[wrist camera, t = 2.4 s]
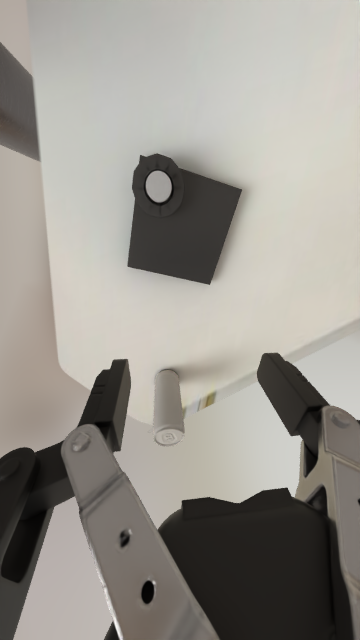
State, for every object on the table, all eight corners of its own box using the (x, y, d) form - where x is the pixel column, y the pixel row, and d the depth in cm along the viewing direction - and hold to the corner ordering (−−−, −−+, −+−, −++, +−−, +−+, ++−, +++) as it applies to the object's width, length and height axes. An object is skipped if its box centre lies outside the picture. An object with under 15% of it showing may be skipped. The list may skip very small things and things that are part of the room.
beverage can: (157, 387, 39) (157, 449, 29) (152, 370, 37) (149, 432, 26) (180, 382, 39) (187, 443, 29) (176, 366, 37) (182, 426, 26)
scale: (127, 263, 26) (123, 269, 24) (139, 154, 21) (136, 145, 18) (207, 281, 29) (212, 288, 26) (238, 188, 23) (248, 185, 21)
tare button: (145, 198, 21) (144, 197, 19) (149, 170, 19) (148, 166, 18) (168, 205, 21) (168, 205, 20) (173, 178, 20) (174, 175, 19)
